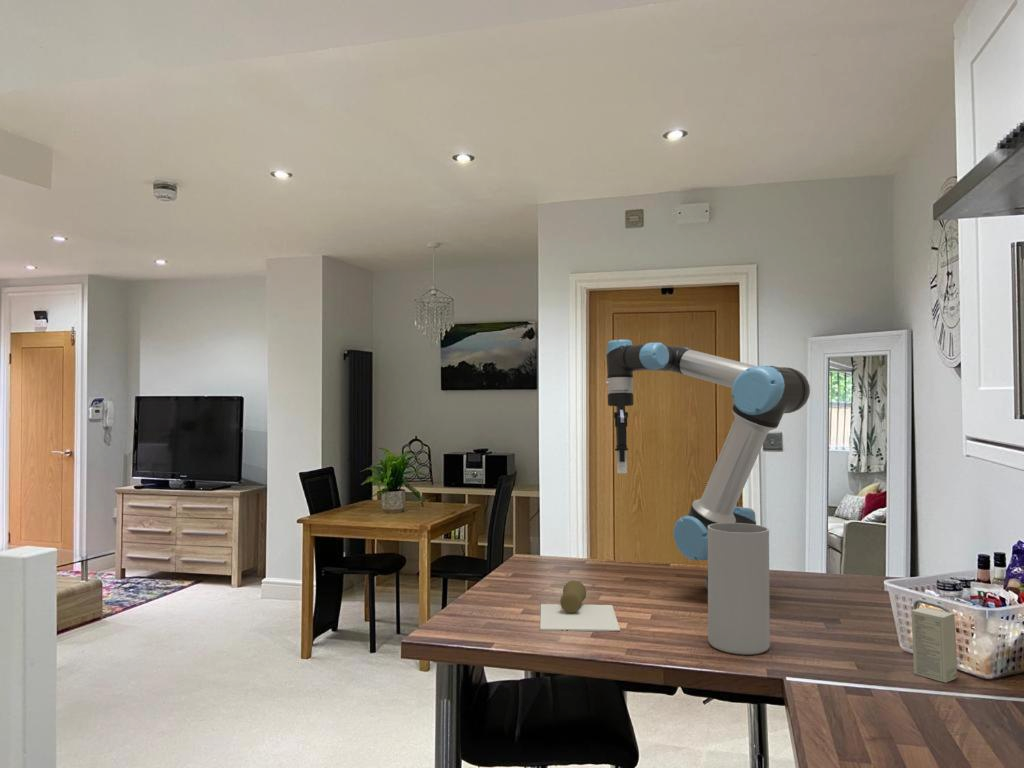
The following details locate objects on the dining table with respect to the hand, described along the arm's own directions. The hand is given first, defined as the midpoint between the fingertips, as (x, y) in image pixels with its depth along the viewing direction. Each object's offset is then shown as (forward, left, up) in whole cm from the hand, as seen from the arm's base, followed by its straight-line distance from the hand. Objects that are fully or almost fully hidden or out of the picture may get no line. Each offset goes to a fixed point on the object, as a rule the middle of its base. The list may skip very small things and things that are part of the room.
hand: (622, 472), depth 214 cm
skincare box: (-88, +15, -31) cm, 94 cm away
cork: (-8, +29, -28) cm, 41 cm away
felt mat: (-17, +38, -31) cm, 52 cm away
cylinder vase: (-54, +27, -31) cm, 68 cm away
